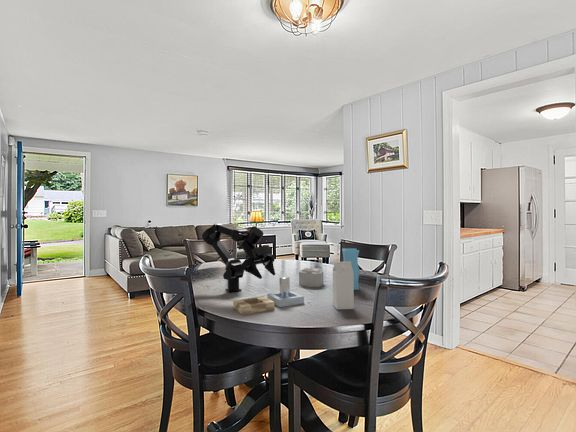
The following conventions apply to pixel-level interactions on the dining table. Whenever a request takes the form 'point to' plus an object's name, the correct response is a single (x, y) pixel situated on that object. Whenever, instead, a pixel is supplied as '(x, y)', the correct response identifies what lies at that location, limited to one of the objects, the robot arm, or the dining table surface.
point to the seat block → (286, 299)
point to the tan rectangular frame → (253, 305)
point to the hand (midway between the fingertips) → (268, 276)
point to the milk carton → (343, 285)
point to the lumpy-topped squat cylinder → (311, 277)
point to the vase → (352, 263)
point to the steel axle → (284, 287)
